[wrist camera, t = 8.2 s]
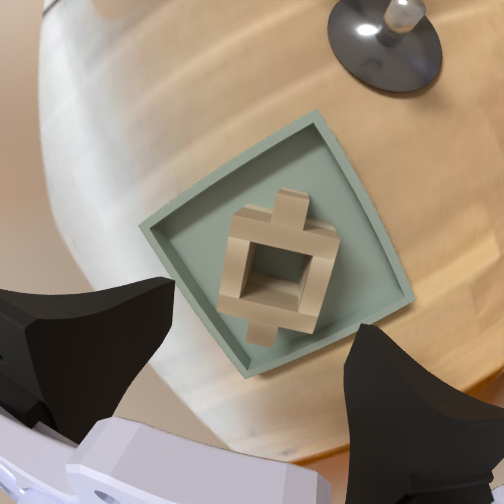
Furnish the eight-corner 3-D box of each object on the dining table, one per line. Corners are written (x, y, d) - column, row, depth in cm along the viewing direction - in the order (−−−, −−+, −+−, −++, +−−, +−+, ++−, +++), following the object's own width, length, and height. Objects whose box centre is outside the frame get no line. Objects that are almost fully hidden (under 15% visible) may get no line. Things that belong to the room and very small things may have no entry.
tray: (407, 287, 20) (415, 299, 18) (249, 363, 23) (245, 379, 21) (315, 114, 17) (316, 108, 16) (151, 219, 21) (138, 225, 19)
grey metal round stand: (458, 69, 15) (498, 49, 9) (373, 111, 17) (398, 93, 12) (392, -18, 13) (411, -57, 8) (303, 16, 16) (302, -26, 10)
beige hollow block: (305, 319, 21) (305, 355, 17) (229, 301, 21) (212, 333, 17) (337, 199, 18) (348, 209, 14) (252, 180, 19) (237, 185, 15)
